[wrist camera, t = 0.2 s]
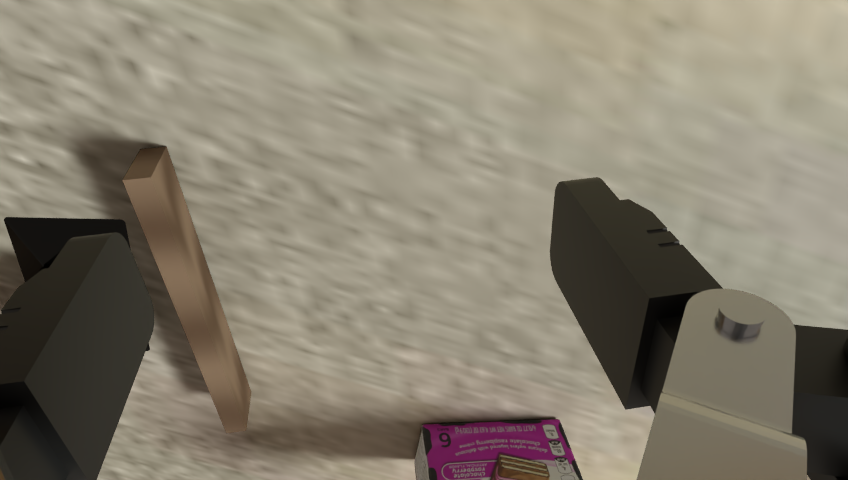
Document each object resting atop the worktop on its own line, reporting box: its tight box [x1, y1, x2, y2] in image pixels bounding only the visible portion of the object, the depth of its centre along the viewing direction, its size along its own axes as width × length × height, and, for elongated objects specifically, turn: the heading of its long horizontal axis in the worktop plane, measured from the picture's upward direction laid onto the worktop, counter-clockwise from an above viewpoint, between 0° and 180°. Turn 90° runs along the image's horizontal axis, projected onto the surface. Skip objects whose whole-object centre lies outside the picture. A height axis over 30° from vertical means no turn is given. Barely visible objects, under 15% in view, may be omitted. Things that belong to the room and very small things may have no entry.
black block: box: [4, 217, 150, 351], centre depth 30 cm, size 12×7×5 cm, turn 173°
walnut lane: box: [122, 147, 251, 433], centre depth 31 cm, size 18×14×3 cm
